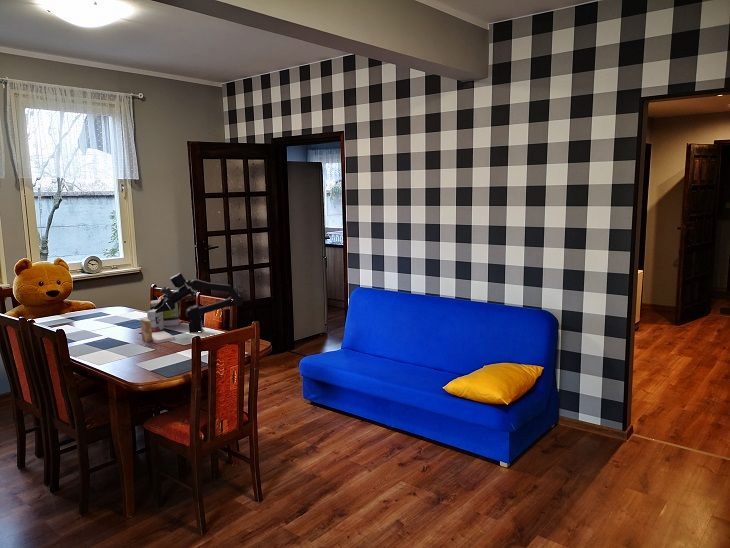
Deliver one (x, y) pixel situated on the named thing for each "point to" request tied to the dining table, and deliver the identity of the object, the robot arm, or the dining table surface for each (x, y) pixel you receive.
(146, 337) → the stub
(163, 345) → the dining table surface
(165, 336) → the plate
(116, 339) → the dining table surface
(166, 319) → the tea box
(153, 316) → the ink box
